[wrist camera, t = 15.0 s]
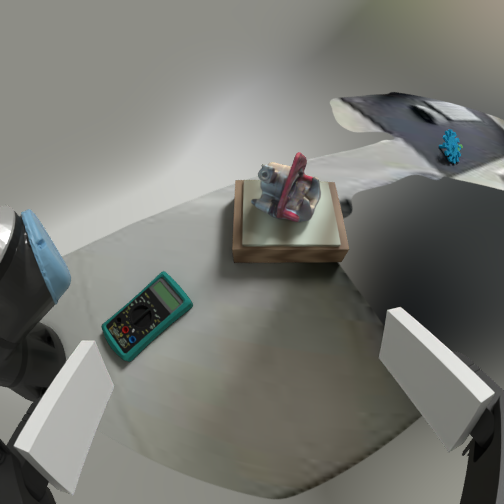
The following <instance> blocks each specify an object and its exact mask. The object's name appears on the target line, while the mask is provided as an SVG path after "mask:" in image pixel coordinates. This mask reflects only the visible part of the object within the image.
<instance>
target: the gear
mask: <svg viewBox="0 0 504 504" xmlns="http://www.w3.org/2000/svg"><path fill="white" fill-rule="evenodd" d="M445 134H446V135H444V136H443V139H444V140H445V142H446V143H443V145H439V148H447V150H448V151H444V153H445V155H449V154H450V157H448V161H449V162H452V163H453V164H455V163H456V162H458V161H459V159H458V157H460V156H461V154H460V152H459V151H460V150H461V148H462V145H458V144H457V142H459V138H456V139H455V136H457V135H456V133H455V132H453V131H452V130H451V129H449V130H448V131H445ZM452 157H453V159H452Z"/></svg>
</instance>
